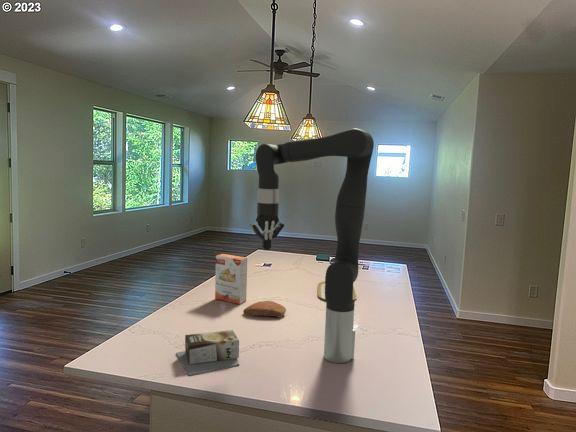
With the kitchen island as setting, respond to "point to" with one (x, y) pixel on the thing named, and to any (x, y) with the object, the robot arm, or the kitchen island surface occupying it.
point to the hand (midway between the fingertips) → (266, 249)
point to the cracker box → (231, 278)
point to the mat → (204, 365)
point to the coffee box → (211, 346)
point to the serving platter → (325, 299)
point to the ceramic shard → (265, 309)
